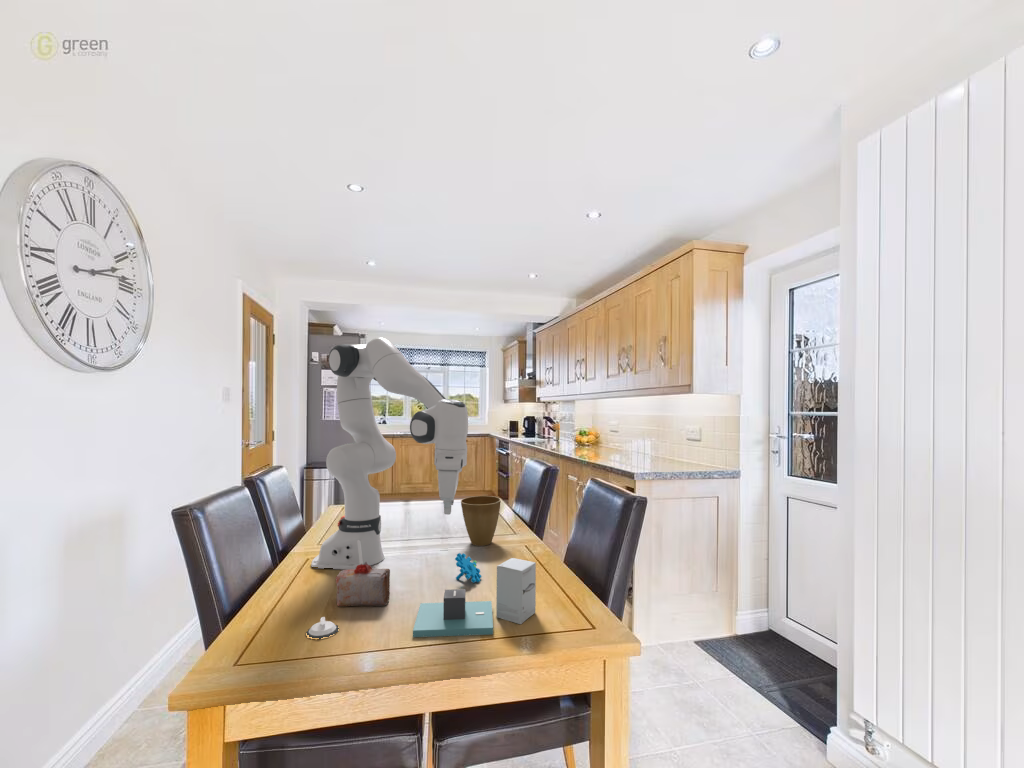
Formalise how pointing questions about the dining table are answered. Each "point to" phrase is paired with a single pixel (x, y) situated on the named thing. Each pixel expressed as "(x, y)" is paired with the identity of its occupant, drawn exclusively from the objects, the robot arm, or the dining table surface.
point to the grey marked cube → (454, 604)
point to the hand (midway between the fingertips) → (448, 509)
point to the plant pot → (481, 518)
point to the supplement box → (516, 590)
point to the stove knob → (322, 629)
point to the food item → (363, 586)
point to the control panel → (473, 624)
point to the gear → (467, 568)
